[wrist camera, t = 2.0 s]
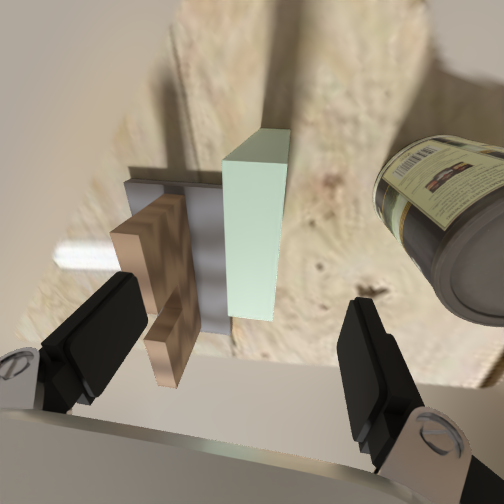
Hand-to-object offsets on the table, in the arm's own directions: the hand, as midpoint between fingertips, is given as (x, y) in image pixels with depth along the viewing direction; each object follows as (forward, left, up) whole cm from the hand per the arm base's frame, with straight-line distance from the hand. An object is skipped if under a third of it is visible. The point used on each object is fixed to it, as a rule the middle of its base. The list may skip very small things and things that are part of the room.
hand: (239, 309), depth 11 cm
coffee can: (-1, +16, -20) cm, 26 cm away
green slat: (-1, 0, -20) cm, 20 cm away
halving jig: (+12, -11, -20) cm, 26 cm away
